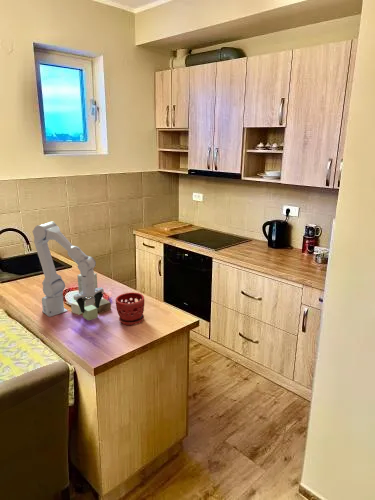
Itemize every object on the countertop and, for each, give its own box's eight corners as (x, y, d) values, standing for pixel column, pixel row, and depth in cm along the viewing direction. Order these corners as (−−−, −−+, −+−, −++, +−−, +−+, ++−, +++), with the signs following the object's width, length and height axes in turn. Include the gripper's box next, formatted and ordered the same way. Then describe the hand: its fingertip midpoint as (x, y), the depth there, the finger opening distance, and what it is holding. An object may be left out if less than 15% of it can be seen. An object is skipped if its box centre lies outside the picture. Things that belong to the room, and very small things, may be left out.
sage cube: (88, 320, 170) (87, 311, 168) (83, 317, 173) (82, 307, 172) (97, 317, 173) (97, 308, 172) (92, 314, 176) (91, 304, 175)
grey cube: (79, 315, 175) (78, 305, 174) (71, 312, 178) (71, 303, 176) (86, 311, 179) (86, 301, 178) (79, 308, 182) (78, 299, 180)
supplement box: (88, 292, 202) (87, 270, 198) (98, 295, 198) (97, 273, 195) (78, 296, 196) (76, 274, 192) (88, 299, 192) (86, 277, 188)
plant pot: (131, 312, 179) (131, 289, 176) (150, 320, 171) (150, 296, 168) (110, 321, 169) (109, 297, 166) (129, 330, 161) (128, 306, 158)
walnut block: (100, 313, 178) (99, 305, 177) (94, 308, 182) (93, 301, 181) (110, 309, 182) (110, 302, 181) (104, 305, 186) (104, 298, 185)
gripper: (78, 289, 160) (80, 317, 164) (106, 281, 170) (107, 307, 174) (70, 285, 165) (72, 312, 169) (98, 277, 175) (100, 303, 179)
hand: (90, 309), depth 172 cm, fingers open, 7 cm apart
